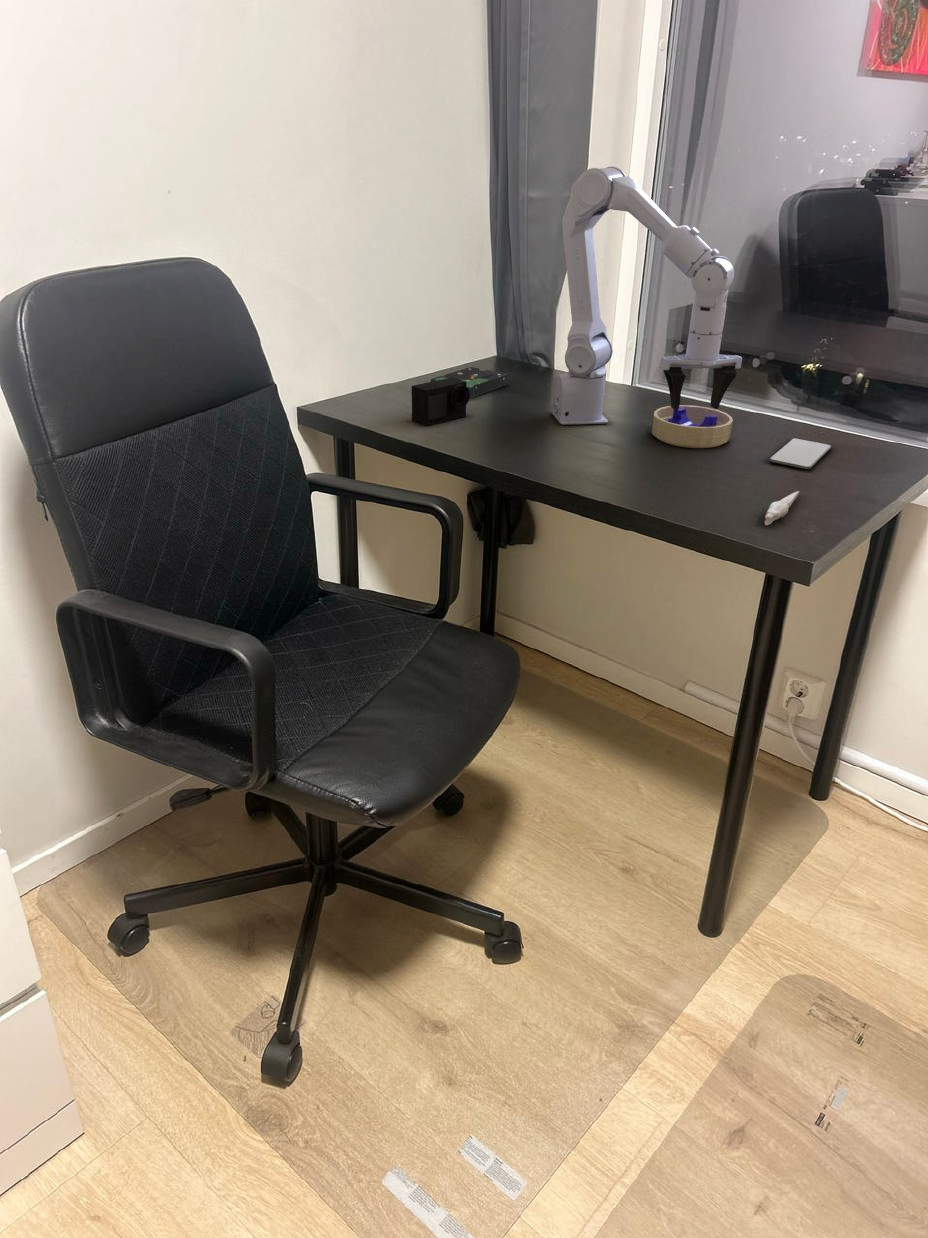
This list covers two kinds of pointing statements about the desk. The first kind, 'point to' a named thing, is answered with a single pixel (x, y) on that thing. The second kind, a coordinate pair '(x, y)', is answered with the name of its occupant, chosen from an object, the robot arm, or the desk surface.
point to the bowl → (692, 427)
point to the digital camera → (439, 401)
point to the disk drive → (477, 380)
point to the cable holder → (682, 419)
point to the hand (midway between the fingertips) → (694, 407)
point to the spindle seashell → (779, 508)
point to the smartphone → (800, 453)
